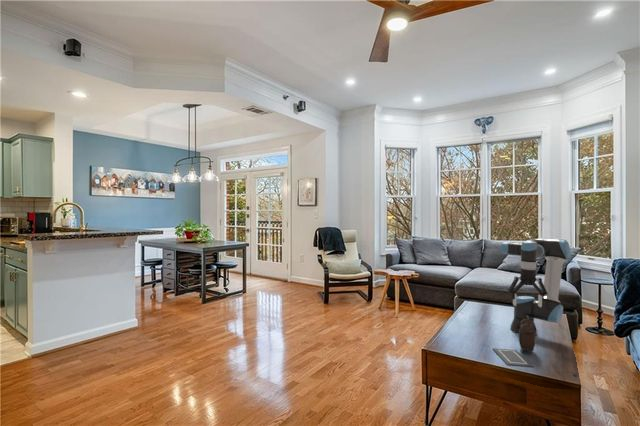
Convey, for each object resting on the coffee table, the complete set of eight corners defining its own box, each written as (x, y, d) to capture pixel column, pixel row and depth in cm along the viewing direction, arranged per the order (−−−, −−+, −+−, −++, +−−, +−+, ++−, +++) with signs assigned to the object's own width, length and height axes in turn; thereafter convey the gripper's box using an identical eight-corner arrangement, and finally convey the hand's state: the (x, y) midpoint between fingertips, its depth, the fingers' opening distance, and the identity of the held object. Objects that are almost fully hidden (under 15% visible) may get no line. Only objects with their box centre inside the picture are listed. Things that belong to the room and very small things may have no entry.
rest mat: (516, 351, 192) (516, 349, 192) (533, 367, 173) (533, 365, 173) (492, 349, 194) (492, 348, 194) (507, 365, 174) (507, 363, 174)
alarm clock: (517, 345, 201) (518, 312, 201) (532, 347, 198) (533, 314, 197) (519, 354, 188) (520, 318, 188) (534, 357, 185) (535, 321, 184)
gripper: (548, 268, 194) (547, 305, 194) (502, 266, 198) (501, 302, 198) (555, 271, 187) (554, 309, 187) (507, 268, 190) (506, 306, 190)
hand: (527, 305), depth 192 cm, fingers open, 13 cm apart
